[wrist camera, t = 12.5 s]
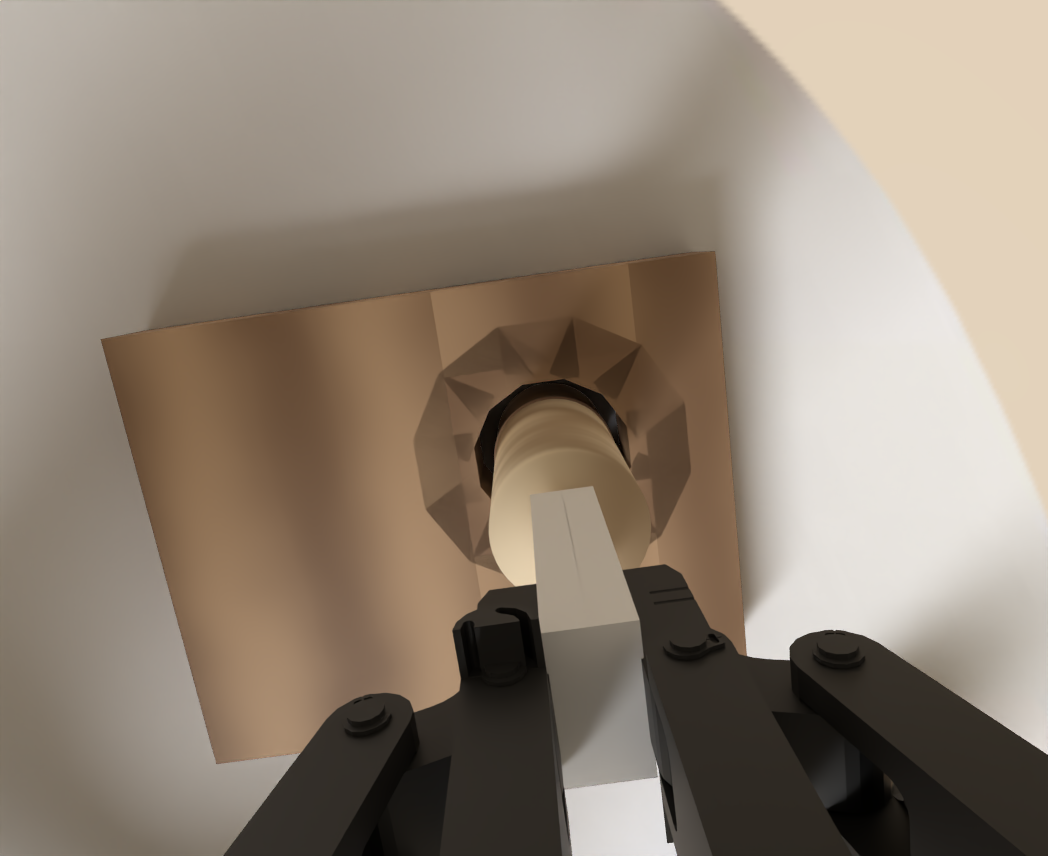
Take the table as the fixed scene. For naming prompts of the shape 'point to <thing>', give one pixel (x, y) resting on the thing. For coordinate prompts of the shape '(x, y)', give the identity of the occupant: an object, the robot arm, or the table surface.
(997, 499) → the table surface
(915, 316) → the table surface
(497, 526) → the dowel
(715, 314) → the board
